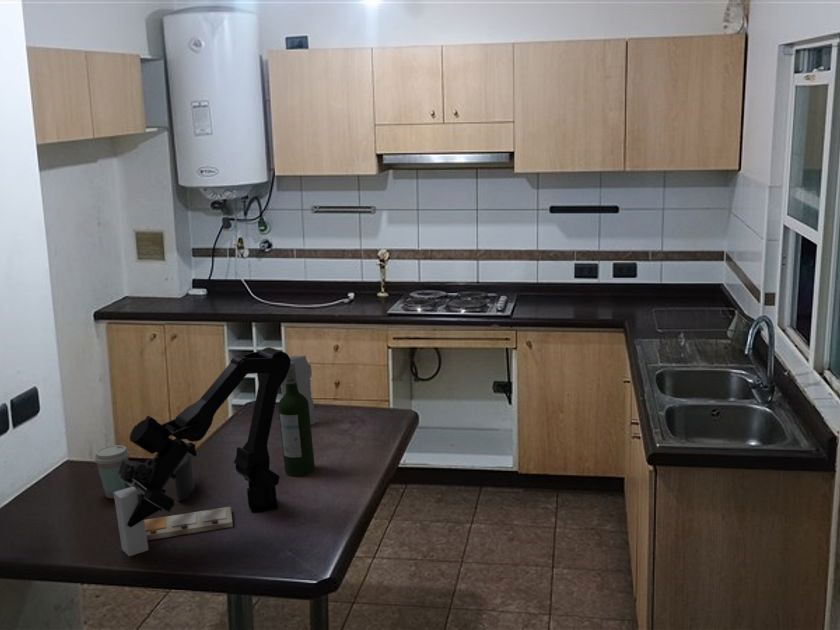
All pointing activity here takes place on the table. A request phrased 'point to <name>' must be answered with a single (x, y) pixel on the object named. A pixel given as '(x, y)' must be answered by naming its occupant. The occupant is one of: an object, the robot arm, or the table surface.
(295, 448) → the wine bottle
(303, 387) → the tall pale column
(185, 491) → the leaning round-cornered charcoal block
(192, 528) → the switch board
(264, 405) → the robot arm
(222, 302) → the table surface
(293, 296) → the table surface
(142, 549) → the block
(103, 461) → the coffee cup
